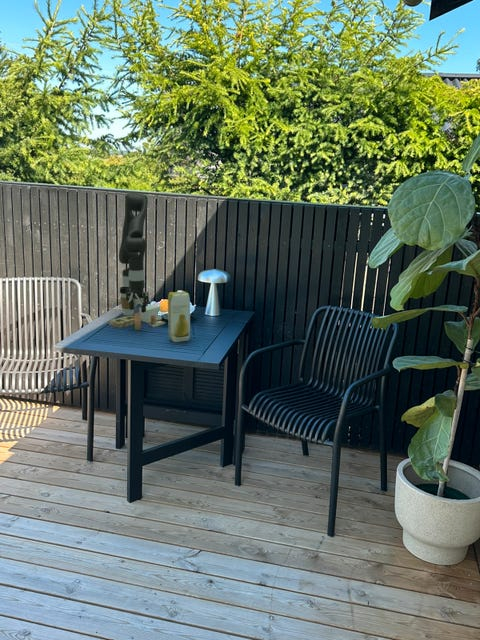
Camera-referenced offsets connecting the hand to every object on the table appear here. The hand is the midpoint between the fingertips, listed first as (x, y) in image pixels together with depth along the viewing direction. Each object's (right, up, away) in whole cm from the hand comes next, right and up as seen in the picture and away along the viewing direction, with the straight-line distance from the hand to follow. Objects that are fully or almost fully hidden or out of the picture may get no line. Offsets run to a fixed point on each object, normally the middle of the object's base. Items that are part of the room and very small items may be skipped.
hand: (137, 311), depth 286 cm
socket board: (-8, -6, +11) cm, 16 cm away
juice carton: (+22, -14, -13) cm, 29 cm away
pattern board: (+8, -7, +11) cm, 15 cm away
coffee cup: (-10, -1, +30) cm, 32 cm away
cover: (+4, -4, +20) cm, 20 cm away
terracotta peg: (0, -9, +3) cm, 9 cm away
